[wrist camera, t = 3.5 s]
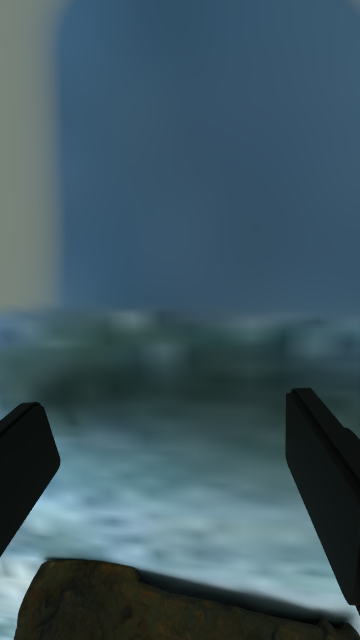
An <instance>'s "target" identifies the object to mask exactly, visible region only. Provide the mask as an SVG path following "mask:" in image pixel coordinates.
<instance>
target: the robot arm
mask: <svg viewBox="0 0 360 640" xmlns="http://www.w3.org/2000/svg"><path fill="white" fill-rule="evenodd" d="M285 453H286V460H287V464H288V467H289V469H290V471H291V474H292V476H293V478H294V481H295V483H296V485H297V488H298V490H299V492H300V495H301V497H302V499H303V502H304V504H305V506H306V509H307V511H308V513H309V516H310V518H311V521H312V523H313V525H314V528H315V530H316V532H317V535H318V537H319V539H320V542H321V544H322V546H323V549H324V551H325V553H326V556H327V558H328V560H329V563H330V565H331V568H332V570H333V572H334V575H335V577H336V579H337V582H338V584H339V586H340V589H341V591H342V593H343V595H344V598H345V599H346V601H347V603H348V604H349V605H355V606H356V608H357V610H358V613H359V615H360V440H359V438H358V437H357V436H356V435H355V434H354V433H353V432H352V431H351V430H350V429H348V428H346V427H345V428H344V427H343V426H342V424H341V423H340V422H339V421H338V420H337V419H336V417H335V416H334V415H333V414H332V413H331V412H330V410H329V409H328V408H327V407H326V406H325V404H324V403H323V402H322V401H321V400H320V399H319V397H318V396H317V395H316V394H315V393H314V391H313V390H312V389H311V388H294V389H292V390H291V393H287V394H286V452H285ZM59 466H60V456H59V453H58V450H57V447H56V444H55V441H54V437H53V434H52V431H51V428H50V425H49V422H48V418H47V415H46V412H45V409H44V407H43V406H41V404H40V403H38V402H31V403H22V404H20V405H18V406H17V407H16V408H15V409H14V410H12V411H11V412H10V413H9V414H8V415H6V416H5V417H4V418H3V419H1V420H0V557H1V555H2V554H3V552H4V551H5V549H6V548H7V546H8V545H9V543H10V542H11V540H12V539H13V537H14V536H15V534H16V533H17V531H18V530H19V528H20V526H21V525H22V523H23V522H24V520H25V519H26V517H27V516H28V514H29V513H30V511H31V510H32V508H33V507H34V505H35V504H36V502H37V501H38V499H39V498H40V496H41V495H42V493H43V492H44V490H45V489H46V487H47V486H48V484H49V483H50V481H51V480H52V478H53V477H54V475H55V474H56V472H57V471H58V469H59Z"/></svg>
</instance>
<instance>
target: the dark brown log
mask: <svg viewBox="0 0 360 640" xmlns="http://www.w3.org/2000/svg"><path fill="white" fill-rule="evenodd" d="M14 640H360V636H359V634H358V632H357V631H356V630H355V629H354V628H353V626H352V625H350V624H349V623H342V624H341V625H339V626H338V627H337V628H333V627H332V625H331V624H330V623H329V622H328V621H326V620H325V619H324V618H322V619H320V621H319V623H318V624H317V625H312V624H306V623H303V622H301V621H300V622H298V621H294V620H289V619H283V618H279V617H274V616H269V615H265V614H260V613H257V612H253V611H249V610H244V609H242V608H240V607H236V606H235V607H234V606H229V605H224V604H221V603H217V602H213V601H210V600H205V599H198V598H193V597H189V596H185V595H180V594H175V593H169V592H165V591H162V590H160V589H158V588H156V587H153V586H150V585H148V584H146V583H143V582H141V581H140V577H139V573H138V571H137V570H136V569H135V568H134V567H130V566H125V565H120V564H115V563H109V562H101V561H87V560H62V561H47V562H45V563H43V564H42V565H41V566H40V568H39V570H38V572H37V573H36V575H35V577H34V578H33V580H32V582H31V584H30V586H29V588H28V590H27V592H26V594H25V597H24V599H23V601H22V604H21V607H20V609H19V613H18V620H17V628H16V631H15V636H14Z"/></svg>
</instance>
